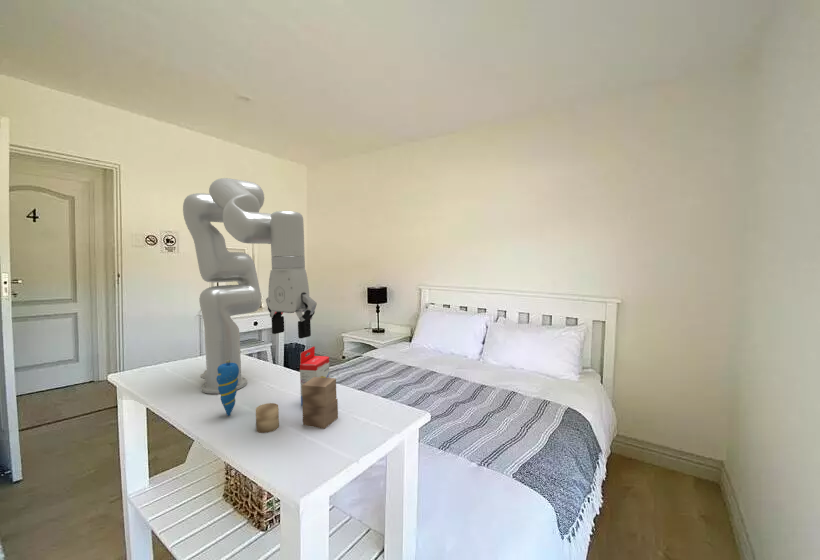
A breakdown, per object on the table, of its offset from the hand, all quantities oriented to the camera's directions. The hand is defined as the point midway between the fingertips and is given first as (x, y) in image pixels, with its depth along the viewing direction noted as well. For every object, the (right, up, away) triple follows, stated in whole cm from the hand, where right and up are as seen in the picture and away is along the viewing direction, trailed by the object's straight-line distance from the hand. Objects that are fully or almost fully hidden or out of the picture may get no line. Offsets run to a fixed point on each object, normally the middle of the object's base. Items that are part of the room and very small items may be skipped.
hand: (291, 335), depth 87 cm
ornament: (-18, -22, +5) cm, 28 cm away
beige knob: (-5, -22, -1) cm, 22 cm away
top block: (+7, -17, +1) cm, 18 cm away
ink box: (+2, -21, +14) cm, 25 cm away
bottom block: (+7, -22, +2) cm, 23 cm away
